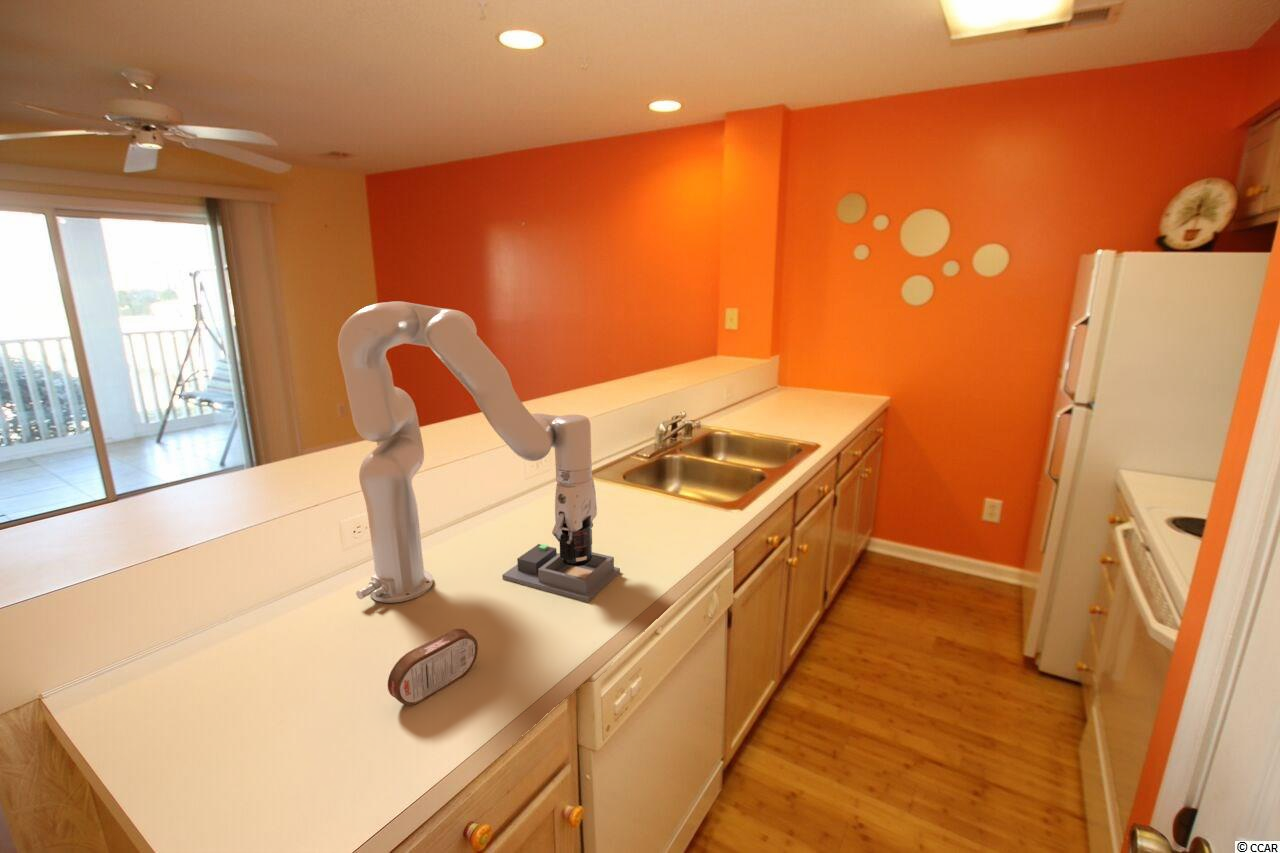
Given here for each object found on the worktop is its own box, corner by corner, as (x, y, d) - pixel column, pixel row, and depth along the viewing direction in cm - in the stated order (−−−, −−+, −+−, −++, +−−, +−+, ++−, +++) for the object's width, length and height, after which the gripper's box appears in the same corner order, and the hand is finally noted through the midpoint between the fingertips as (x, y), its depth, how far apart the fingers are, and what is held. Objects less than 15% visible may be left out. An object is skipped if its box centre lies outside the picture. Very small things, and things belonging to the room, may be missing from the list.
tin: (471, 660, 101) (468, 618, 99) (482, 668, 100) (479, 625, 97) (389, 709, 90) (383, 662, 88) (399, 718, 88) (393, 670, 86)
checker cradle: (588, 602, 119) (587, 582, 118) (502, 578, 129) (501, 560, 127) (620, 572, 132) (619, 553, 130) (539, 552, 141) (538, 535, 140)
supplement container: (583, 550, 132) (582, 507, 129) (597, 562, 126) (596, 518, 123) (556, 557, 128) (554, 513, 126) (569, 570, 123) (567, 525, 120)
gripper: (566, 490, 113) (569, 573, 118) (609, 464, 128) (610, 538, 133) (534, 484, 116) (538, 565, 121) (580, 459, 131) (582, 532, 136)
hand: (576, 550), depth 127 cm, fingers closed on supplement container, 6 cm apart
